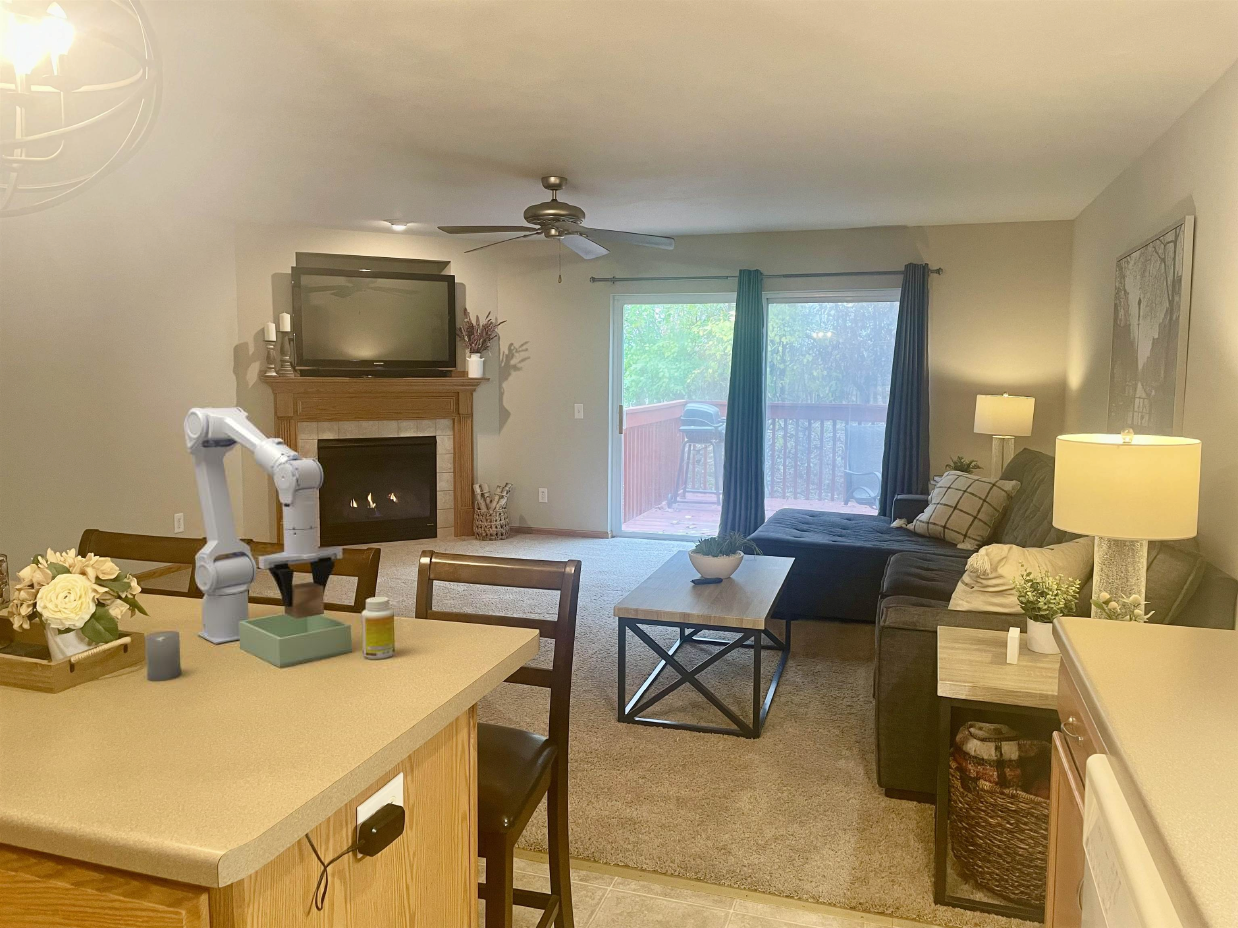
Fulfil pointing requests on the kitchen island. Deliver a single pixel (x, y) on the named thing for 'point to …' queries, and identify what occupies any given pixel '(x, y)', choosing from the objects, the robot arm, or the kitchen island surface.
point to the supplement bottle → (378, 629)
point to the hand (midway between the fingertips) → (303, 603)
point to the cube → (306, 600)
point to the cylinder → (163, 655)
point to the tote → (294, 638)
